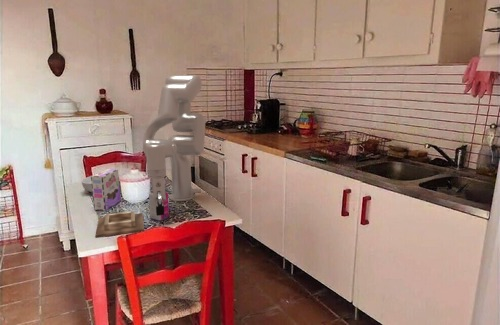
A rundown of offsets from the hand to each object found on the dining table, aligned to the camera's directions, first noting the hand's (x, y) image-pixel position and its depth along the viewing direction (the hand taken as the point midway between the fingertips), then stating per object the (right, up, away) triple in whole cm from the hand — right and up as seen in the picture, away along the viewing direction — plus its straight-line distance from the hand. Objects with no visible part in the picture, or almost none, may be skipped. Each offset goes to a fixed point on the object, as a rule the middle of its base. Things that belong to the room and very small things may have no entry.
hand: (159, 210), depth 159 cm
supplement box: (0, -3, +1) cm, 4 cm away
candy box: (-28, 0, +16) cm, 33 cm away
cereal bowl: (-41, +5, +38) cm, 56 cm away
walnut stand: (-14, -5, -7) cm, 17 cm away
